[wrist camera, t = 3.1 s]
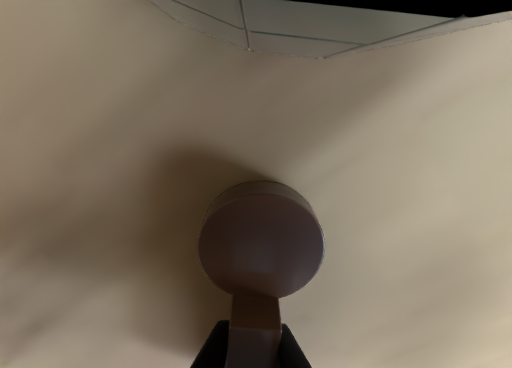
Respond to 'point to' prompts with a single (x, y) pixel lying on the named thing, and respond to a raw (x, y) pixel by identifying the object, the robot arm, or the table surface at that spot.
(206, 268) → the spoon
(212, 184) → the table surface
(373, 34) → the bucket
